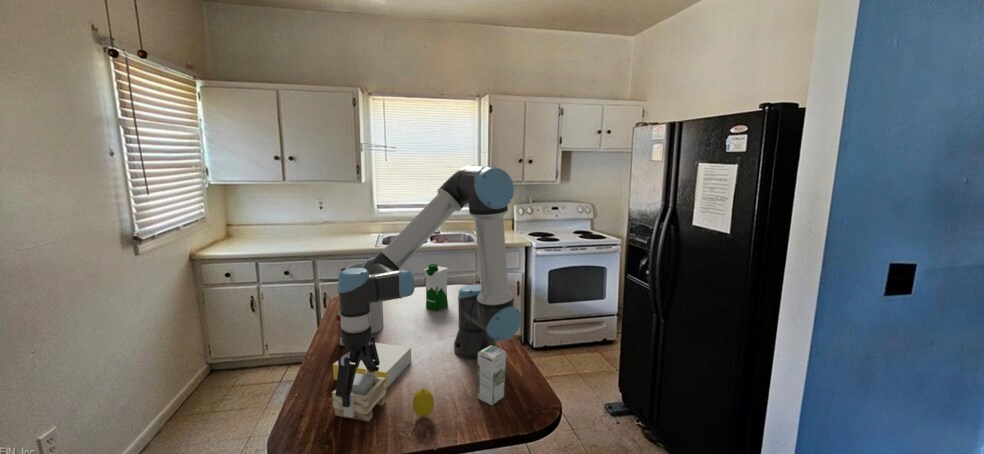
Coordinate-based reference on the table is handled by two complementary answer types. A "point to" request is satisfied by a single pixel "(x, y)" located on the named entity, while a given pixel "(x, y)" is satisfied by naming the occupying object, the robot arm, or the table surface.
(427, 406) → the lemon
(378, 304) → the cylinder vase
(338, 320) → the soda can
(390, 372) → the dock
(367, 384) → the cargo block
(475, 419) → the table surface
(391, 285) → the robot arm
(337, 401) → the wooden crate with cube
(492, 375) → the syrup box
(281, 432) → the table surface
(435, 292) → the milk carton
